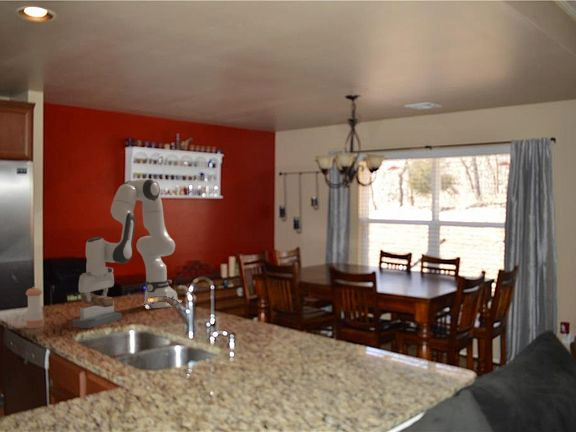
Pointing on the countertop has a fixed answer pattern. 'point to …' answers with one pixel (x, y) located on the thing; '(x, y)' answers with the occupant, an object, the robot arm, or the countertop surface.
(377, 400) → the countertop surface
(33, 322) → the pepper shaker
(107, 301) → the walnut rod
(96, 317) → the ridge stand
